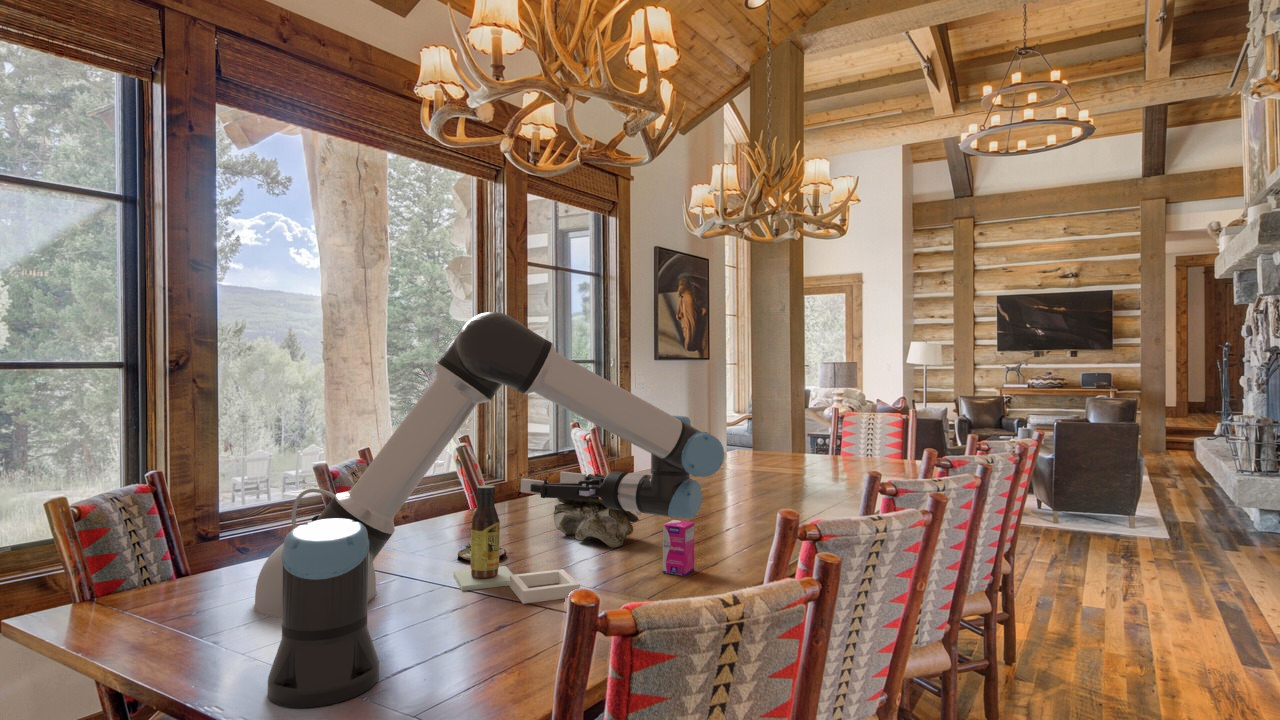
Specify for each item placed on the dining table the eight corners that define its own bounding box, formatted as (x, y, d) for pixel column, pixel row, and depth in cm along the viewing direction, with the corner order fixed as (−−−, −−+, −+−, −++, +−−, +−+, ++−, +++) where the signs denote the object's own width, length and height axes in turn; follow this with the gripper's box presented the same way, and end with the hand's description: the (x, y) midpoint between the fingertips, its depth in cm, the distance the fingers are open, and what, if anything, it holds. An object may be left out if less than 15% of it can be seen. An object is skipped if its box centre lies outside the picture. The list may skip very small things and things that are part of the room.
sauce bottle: (492, 580, 152) (492, 489, 152) (465, 578, 153) (466, 488, 154) (503, 572, 159) (504, 484, 159) (478, 570, 160) (478, 483, 160)
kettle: (407, 594, 146) (408, 487, 146) (307, 629, 126) (309, 504, 127) (331, 576, 159) (332, 477, 159) (230, 604, 139) (232, 491, 140)
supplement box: (661, 573, 162) (662, 524, 162) (672, 567, 167) (672, 519, 167) (684, 576, 159) (684, 526, 159) (695, 570, 164) (695, 521, 164)
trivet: (462, 591, 148) (462, 586, 148) (453, 575, 159) (453, 571, 159) (517, 584, 153) (517, 579, 153) (505, 569, 164) (505, 565, 164)
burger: (448, 562, 171) (448, 532, 171) (474, 551, 182) (474, 522, 182) (490, 567, 167) (490, 536, 167) (515, 555, 178) (515, 525, 178)
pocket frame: (523, 603, 140) (523, 591, 140) (509, 586, 151) (509, 575, 151) (579, 596, 145) (579, 584, 145) (562, 580, 156) (562, 569, 156)
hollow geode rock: (555, 548, 203) (526, 515, 196) (578, 512, 210) (551, 480, 203) (625, 563, 184) (596, 528, 177) (648, 524, 191) (621, 488, 184)
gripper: (591, 521, 128) (502, 507, 139) (656, 501, 150) (575, 491, 161) (592, 480, 129) (504, 469, 139) (656, 466, 150) (576, 458, 161)
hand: (542, 481), depth 150 cm, fingers open, 13 cm apart
